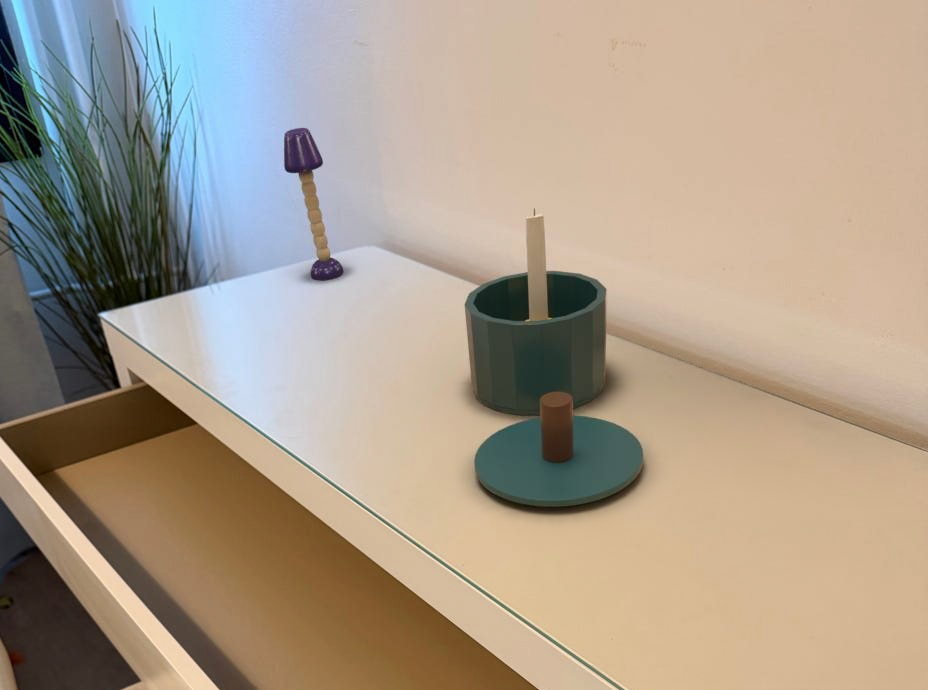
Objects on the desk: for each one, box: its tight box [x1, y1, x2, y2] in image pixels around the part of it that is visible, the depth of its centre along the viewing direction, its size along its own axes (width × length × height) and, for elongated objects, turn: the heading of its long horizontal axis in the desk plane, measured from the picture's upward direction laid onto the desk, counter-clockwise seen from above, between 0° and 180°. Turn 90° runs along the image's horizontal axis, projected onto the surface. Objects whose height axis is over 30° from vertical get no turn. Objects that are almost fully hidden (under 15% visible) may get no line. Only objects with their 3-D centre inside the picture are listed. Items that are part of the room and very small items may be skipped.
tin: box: [464, 270, 608, 416], centre depth 86 cm, size 13×13×8 cm
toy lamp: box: [283, 127, 344, 281], centre depth 114 cm, size 5×5×17 cm
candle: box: [525, 207, 552, 321], centre depth 84 cm, size 5×5×16 cm
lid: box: [473, 392, 644, 508], centre depth 75 cm, size 14×14×6 cm
